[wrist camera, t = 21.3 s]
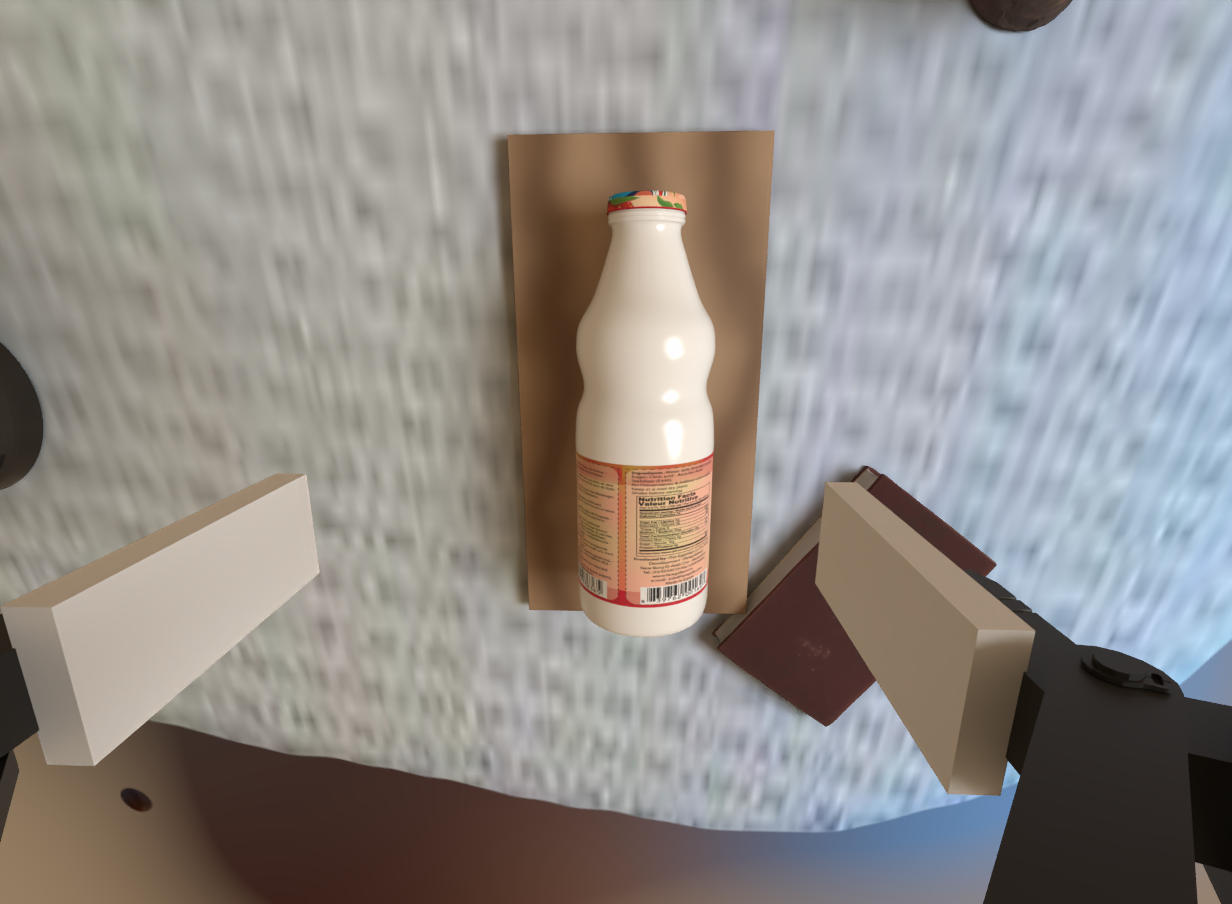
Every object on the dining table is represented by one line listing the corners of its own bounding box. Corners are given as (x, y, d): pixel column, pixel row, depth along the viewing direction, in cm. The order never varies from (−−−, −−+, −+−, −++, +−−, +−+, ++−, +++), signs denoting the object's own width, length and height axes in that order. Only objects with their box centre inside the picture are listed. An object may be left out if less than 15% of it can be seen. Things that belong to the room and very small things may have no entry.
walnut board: (532, 602, 50) (529, 609, 48) (511, 139, 40) (507, 135, 39) (743, 606, 49) (745, 613, 48) (770, 135, 40) (774, 130, 39)
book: (980, 551, 47) (1004, 569, 44) (819, 708, 52) (830, 734, 48) (866, 460, 46) (882, 472, 43) (710, 630, 50) (714, 651, 47)
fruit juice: (554, 621, 41) (540, 190, 33) (612, 567, 49) (611, 211, 42) (682, 655, 37) (697, 175, 30) (721, 590, 45) (740, 202, 38)
